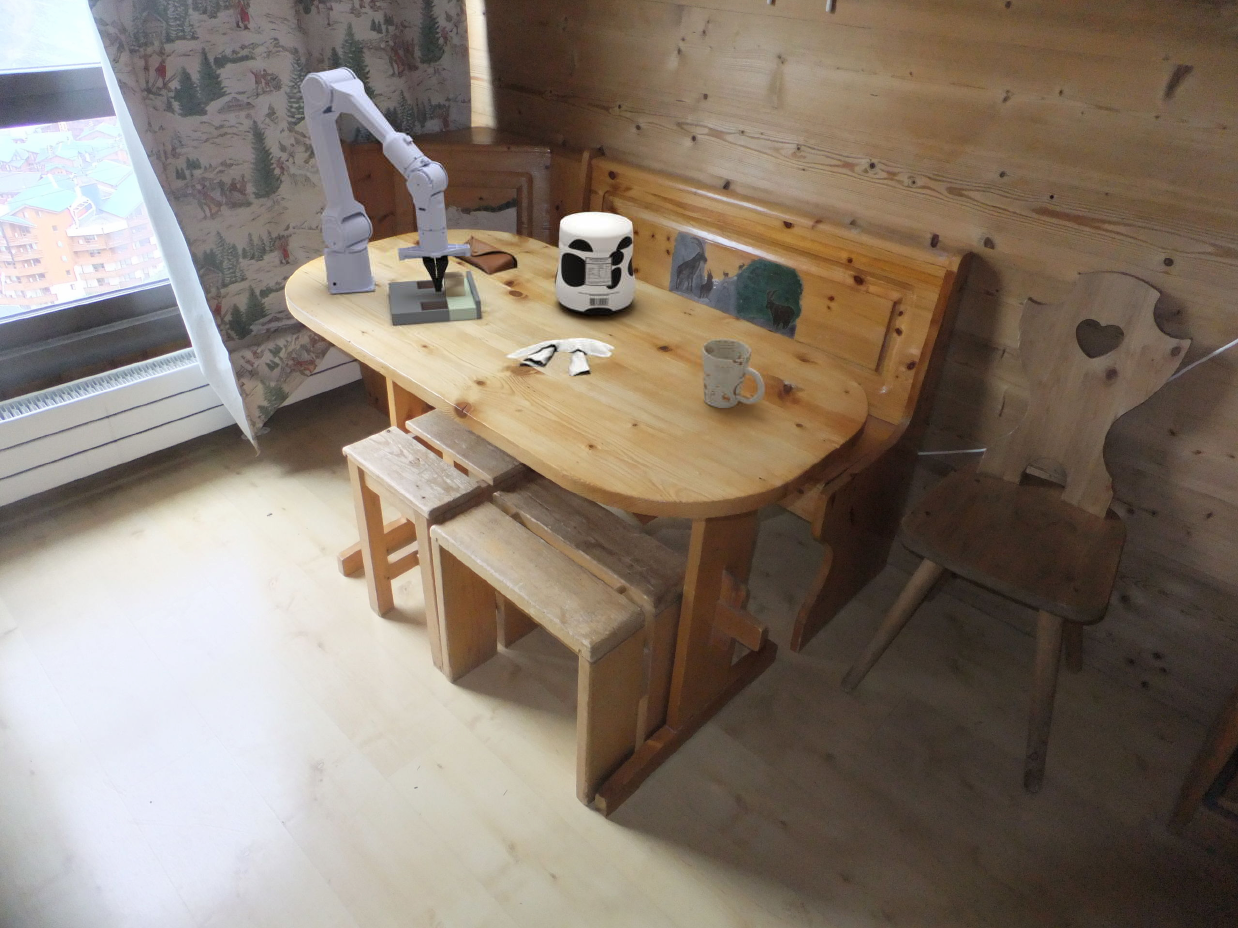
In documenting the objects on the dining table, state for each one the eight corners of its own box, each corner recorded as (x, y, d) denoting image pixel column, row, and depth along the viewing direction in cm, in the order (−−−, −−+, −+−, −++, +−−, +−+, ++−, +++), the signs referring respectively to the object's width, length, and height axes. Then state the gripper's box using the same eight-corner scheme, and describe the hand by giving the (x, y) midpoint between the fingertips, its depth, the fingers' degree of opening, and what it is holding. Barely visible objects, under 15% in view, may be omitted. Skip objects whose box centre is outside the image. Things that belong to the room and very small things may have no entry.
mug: (714, 384, 148) (720, 334, 143) (773, 407, 142) (782, 356, 136) (688, 400, 143) (693, 349, 137) (748, 425, 136) (756, 373, 131)
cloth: (625, 346, 161) (626, 335, 160) (593, 398, 144) (593, 386, 143) (529, 331, 165) (529, 320, 164) (487, 380, 148) (486, 368, 147)
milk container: (596, 283, 186) (597, 205, 176) (650, 306, 177) (655, 225, 166) (538, 303, 176) (537, 221, 166) (593, 328, 166) (594, 243, 156)
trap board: (393, 325, 164) (390, 307, 162) (389, 293, 177) (387, 276, 175) (481, 318, 168) (480, 300, 166) (471, 287, 182) (470, 270, 180)
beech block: (446, 297, 171) (444, 279, 168) (444, 290, 174) (442, 272, 171) (465, 296, 171) (463, 278, 169) (463, 288, 175) (461, 271, 172)
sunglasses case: (445, 254, 198) (455, 228, 197) (467, 262, 204) (476, 237, 203) (490, 275, 188) (500, 248, 187) (511, 284, 194) (521, 257, 192)
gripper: (396, 235, 159) (404, 300, 166) (470, 231, 162) (474, 294, 170) (394, 223, 164) (402, 287, 172) (466, 220, 168) (470, 282, 175)
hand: (438, 290), depth 171 cm, fingers closed
